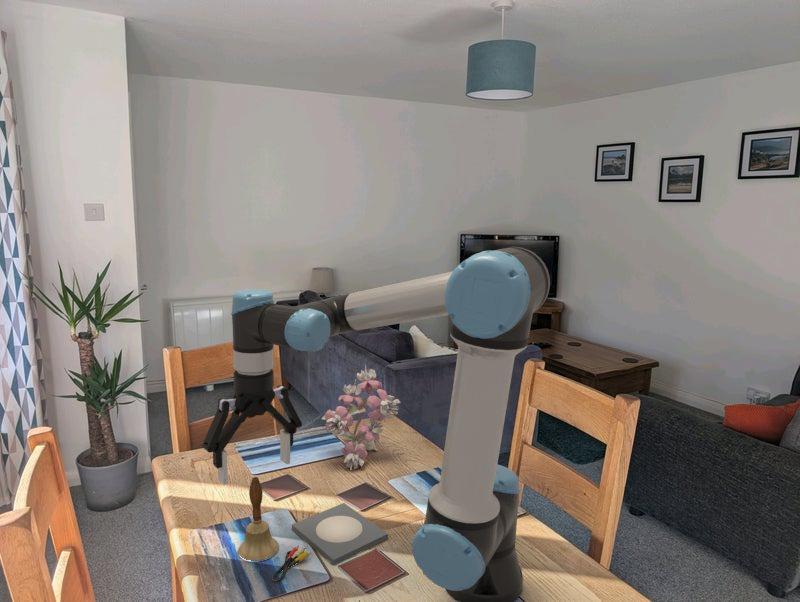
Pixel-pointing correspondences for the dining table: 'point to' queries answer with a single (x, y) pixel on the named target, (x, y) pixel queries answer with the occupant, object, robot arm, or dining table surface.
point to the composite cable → (291, 561)
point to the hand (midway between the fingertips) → (255, 471)
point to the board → (339, 533)
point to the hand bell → (257, 530)
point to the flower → (360, 417)
